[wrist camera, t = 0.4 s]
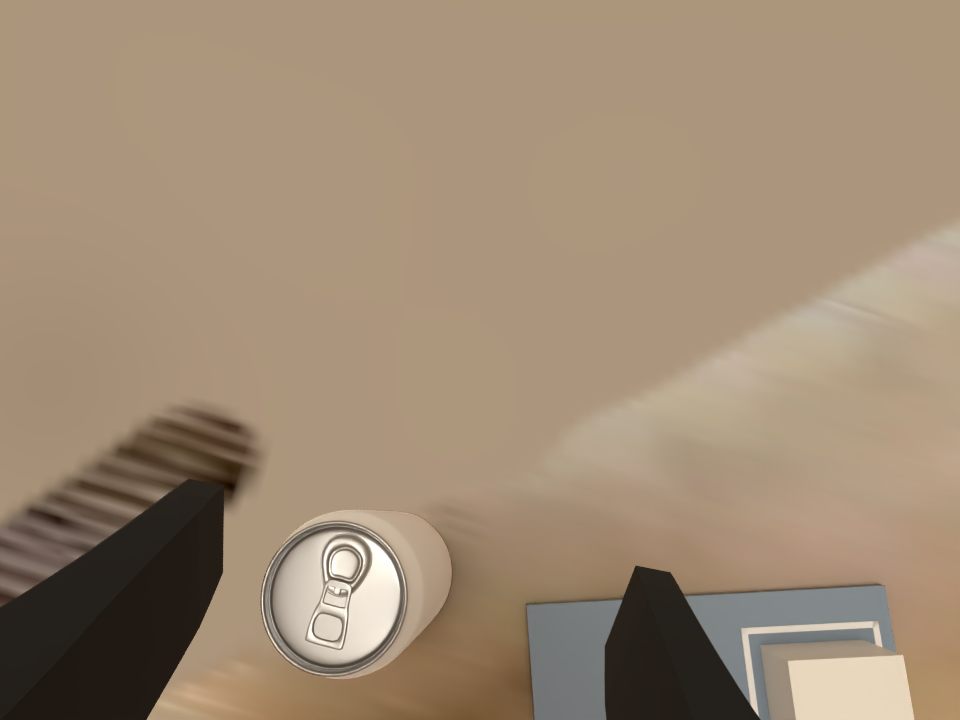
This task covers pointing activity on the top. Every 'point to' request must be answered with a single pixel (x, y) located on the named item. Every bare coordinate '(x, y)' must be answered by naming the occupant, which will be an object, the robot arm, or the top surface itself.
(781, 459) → the top surface
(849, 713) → the base block
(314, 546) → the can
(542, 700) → the board
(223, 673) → the top surface
